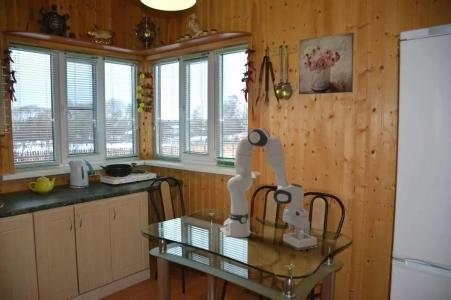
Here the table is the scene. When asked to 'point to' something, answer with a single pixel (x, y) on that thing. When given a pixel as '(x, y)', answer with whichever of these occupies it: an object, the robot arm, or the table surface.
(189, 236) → the table surface
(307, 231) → the small box
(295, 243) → the link
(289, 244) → the keeper plate
